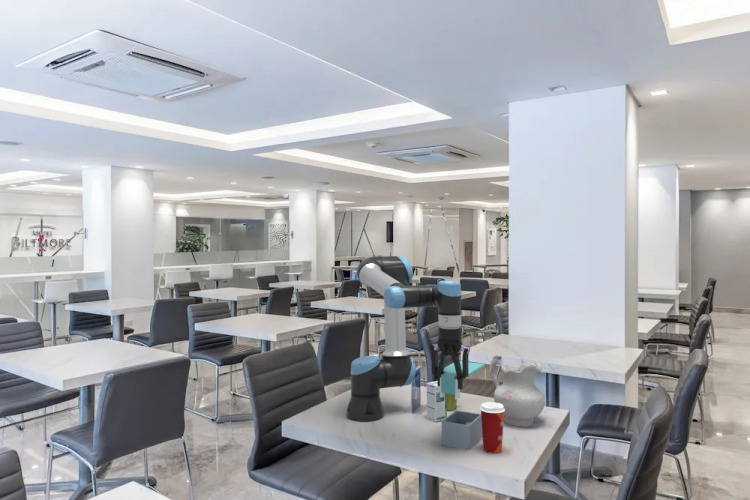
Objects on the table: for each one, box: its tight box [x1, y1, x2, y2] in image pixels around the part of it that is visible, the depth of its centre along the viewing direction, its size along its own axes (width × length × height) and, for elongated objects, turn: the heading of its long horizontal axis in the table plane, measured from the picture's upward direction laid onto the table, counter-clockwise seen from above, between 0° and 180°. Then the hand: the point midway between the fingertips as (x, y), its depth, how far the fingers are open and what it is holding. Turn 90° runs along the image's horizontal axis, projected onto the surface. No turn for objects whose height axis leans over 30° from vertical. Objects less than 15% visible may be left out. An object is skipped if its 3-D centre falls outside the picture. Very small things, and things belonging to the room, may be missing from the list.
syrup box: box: [426, 380, 448, 423], centre depth 202 cm, size 6×6×14 cm
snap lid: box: [441, 360, 486, 394], centre depth 177 cm, size 23×11×6 cm, turn 150°
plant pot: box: [446, 393, 458, 412], centre depth 216 cm, size 9×9×9 cm
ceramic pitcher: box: [489, 355, 546, 428], centre depth 199 cm, size 22×20×25 cm
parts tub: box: [441, 409, 483, 451], centre depth 179 cm, size 14×10×8 cm
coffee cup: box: [479, 401, 505, 454], centre depth 171 cm, size 8×8×15 cm
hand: (450, 397), depth 169 cm, fingers closed on snap lid, 5 cm apart
